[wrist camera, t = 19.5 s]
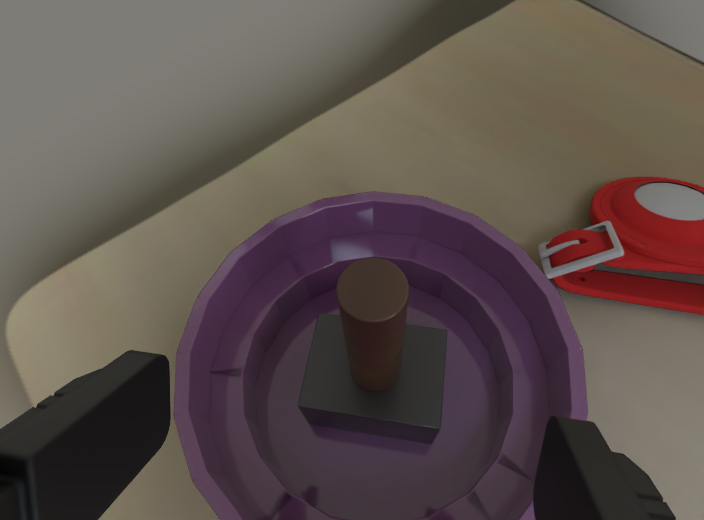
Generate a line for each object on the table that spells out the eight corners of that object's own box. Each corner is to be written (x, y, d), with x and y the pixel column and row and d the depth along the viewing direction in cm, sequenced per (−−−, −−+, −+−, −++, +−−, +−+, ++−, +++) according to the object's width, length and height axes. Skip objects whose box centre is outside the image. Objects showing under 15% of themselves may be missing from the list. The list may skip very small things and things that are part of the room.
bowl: (535, 272, 27) (571, 210, 22) (546, 619, 19) (607, 648, 14) (264, 241, 29) (239, 177, 24) (172, 542, 21) (105, 542, 16)
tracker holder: (625, 145, 30) (825, 201, 24) (605, 204, 33) (780, 266, 27) (524, 232, 24) (760, 334, 18) (511, 295, 27) (711, 400, 21)
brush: (439, 355, 24) (476, 238, 15) (432, 444, 22) (471, 373, 13) (325, 339, 25) (292, 218, 16) (308, 424, 23) (257, 342, 14)
